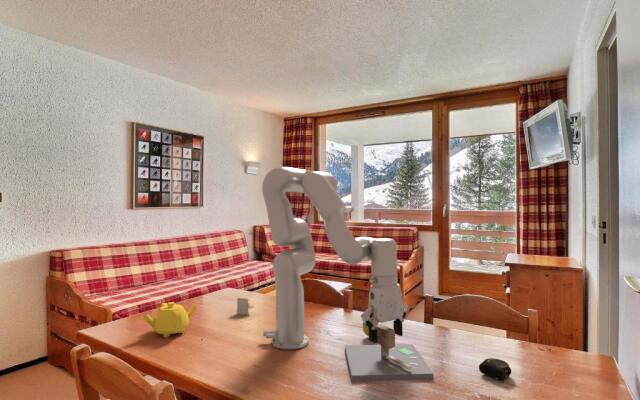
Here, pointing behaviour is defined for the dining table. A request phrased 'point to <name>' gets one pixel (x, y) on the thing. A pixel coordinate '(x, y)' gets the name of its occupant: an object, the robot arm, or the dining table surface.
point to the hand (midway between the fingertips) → (385, 338)
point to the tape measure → (495, 368)
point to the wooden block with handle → (388, 344)
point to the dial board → (385, 363)
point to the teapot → (170, 319)
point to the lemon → (366, 328)
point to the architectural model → (243, 306)
